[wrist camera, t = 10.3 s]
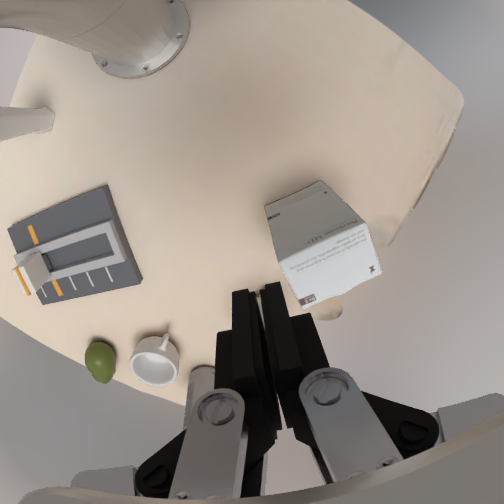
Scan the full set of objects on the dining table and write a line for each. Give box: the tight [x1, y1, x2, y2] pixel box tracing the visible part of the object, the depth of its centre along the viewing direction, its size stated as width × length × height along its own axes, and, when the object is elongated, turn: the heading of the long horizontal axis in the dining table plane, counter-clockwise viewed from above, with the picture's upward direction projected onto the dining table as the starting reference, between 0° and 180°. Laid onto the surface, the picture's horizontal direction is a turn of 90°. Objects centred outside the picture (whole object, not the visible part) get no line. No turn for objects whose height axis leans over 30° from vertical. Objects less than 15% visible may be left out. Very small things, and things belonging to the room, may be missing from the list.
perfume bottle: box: [0, 106, 55, 142], centre depth 23 cm, size 5×4×15 cm
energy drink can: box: [183, 366, 215, 431], centre depth 42 cm, size 6×6×15 cm
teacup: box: [130, 333, 179, 386], centre depth 43 cm, size 10×8×5 cm
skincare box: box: [265, 181, 382, 309], centre depth 30 cm, size 8×6×15 cm
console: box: [7, 185, 143, 305], centre depth 36 cm, size 14×20×3 cm
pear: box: [85, 342, 115, 384], centre depth 44 cm, size 6×5×10 cm
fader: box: [11, 252, 52, 295], centre depth 33 cm, size 4×3×6 cm
